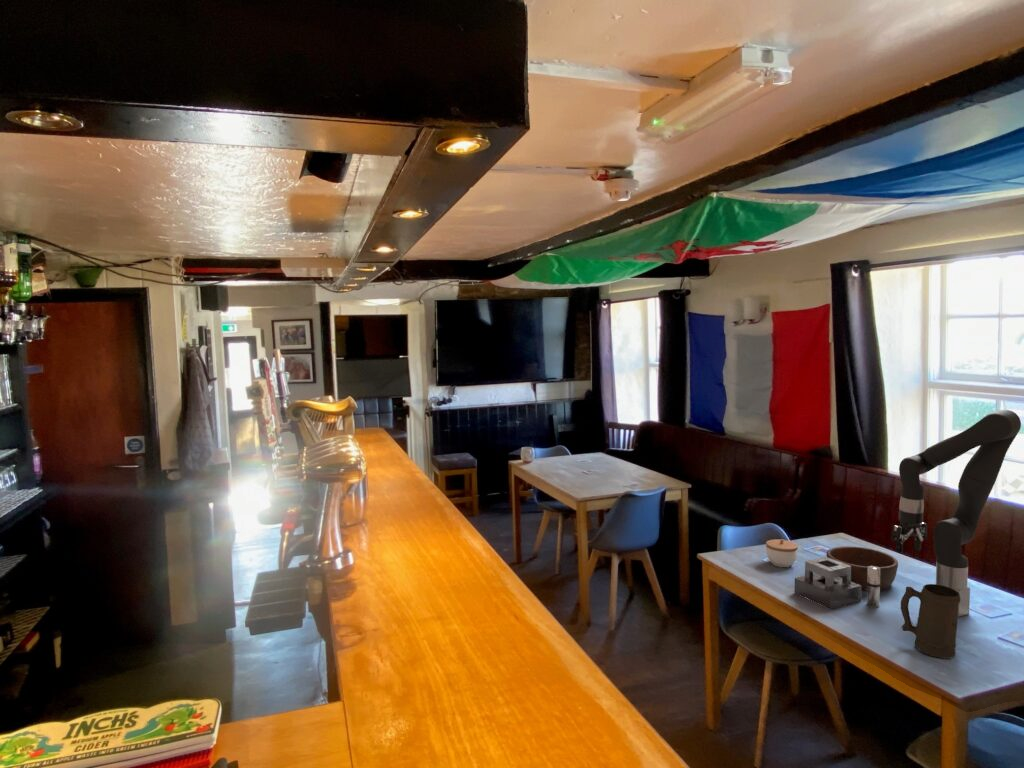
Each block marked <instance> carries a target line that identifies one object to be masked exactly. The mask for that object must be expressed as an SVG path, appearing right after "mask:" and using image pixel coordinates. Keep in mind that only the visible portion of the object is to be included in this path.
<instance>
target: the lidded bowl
mask: <svg viewBox="0 0 1024 768" xmlns="http://www.w3.org/2000/svg"><path fill="white" fill-rule="evenodd" d="M765 546H766V551H765V552H766V555H767V559H768V560H769V561H770V562H771V564H772V565H773V566H774V565H775V567H777V566H778V568H782V567H787V568H790V567H791V566H790V565H793V564H794V563H795V562H796V560H797V557H798V548H799V546H798V544H797V543H795V542H793V541H790V540H786V539H783V538H782V539H781V538H780V539H775V538H774V539H770V540H769V539H768V540H766V542H765Z"/></svg>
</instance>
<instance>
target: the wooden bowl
mask: <svg viewBox="0 0 1024 768" xmlns="http://www.w3.org/2000/svg"><path fill="white" fill-rule="evenodd" d="M826 557H828V558H830V559H833V560H836V561H839V562H841V563H844V564H847V565H849V566H851V582H854V583H856V584H859V585H861V586H862V587H861V591H862V590H863V591H867V574H868V566H876V567H879V568H880V591H882V590H886V589H888V588H890V587H891V586H892V584H893V583H894V581H895V579H896V577H897V571H898V566H899V562H898V560H897V558H895V557H894V556H893V555H891V554H888V553H886V552H884V551H881V550H878V549H873V548H870V547H861V546H851V545H848V546H847V545H845V546H844V545H843V546H834V547H832V548H829V549H828V550H827V551H826ZM841 578H842V576H841Z"/></svg>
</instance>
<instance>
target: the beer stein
mask: <svg viewBox="0 0 1024 768" xmlns="http://www.w3.org/2000/svg"><path fill="white" fill-rule="evenodd" d="M913 597H915V598H918V599H919V601H920V603H919V610H918V617H917V622H916V625H913V624H912V621H911V617H910V616H911V615H910V612H909V610H910V609H909V602H910V599H911V598H913ZM960 600H961V599H960V594H959V593H958V592H957V591H956V590H954V589H952V588H949V587H946V586H942V585H937V584H936V583H932V584H931V583H926V584H925V585H924V584H923V587H922V589H921V591H918V590H916V589H914V588H913V586H905V592H904V594H903V596H902V597H901V600H900V611H901V615H902V618H903V620H904V623H903V625H902V626H901V627H902V628H901V629H902V631H903V632H911V633H912V634H913V635H914V636H915V640H914V646H915V647H916V648H917V650H919V651H920V652H923V653H925V655H926V654H927V655H929V656H931V657H935V658H940V659H952V658H954V657H955V656H956V647H957V642H956V639H957V637H956V636H957V629H958V618H959V617H958V605H959V603H960Z"/></svg>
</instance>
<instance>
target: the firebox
mask: <svg viewBox="0 0 1024 768" xmlns="http://www.w3.org/2000/svg"><path fill="white" fill-rule="evenodd" d="M841 576H842V578H841ZM861 587H862V586H861V585H859V584H856V583H854V582H851V566H849V565H847V564H844V563H841V562H839V561H836V560H833V559H830V558H828V557H827V556H823V557H819V558H813V559H810V560H805V562H804V575H802V576H798V577H794V592H795V593H797V594H799V595H798V596H800V595H801V596H800V597H802V596H803V597H802V598H804V597H806V598H808V599H810V600H809V601H811V600H812V601H811V602H813V601H814V602H813V603H815V602H816V603H815V604H817V603H819V604H821V605H823V606H822V607H824V606H825V607H824V608H826V607H827V608H826V609H828V608H829V609H828V610H830V609H831V610H834V608H835V609H837V607H838V608H842V607H845V606H844V605H846V606H849V605H852V603H853V604H856V603H860V602H862V590H861ZM795 593H794V594H795ZM797 594H796V595H797ZM806 598H805V599H806ZM808 599H807V600H808ZM819 604H818V605H819ZM848 604H849V605H848ZM821 605H820V606H821ZM841 606H842V607H841Z"/></svg>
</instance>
